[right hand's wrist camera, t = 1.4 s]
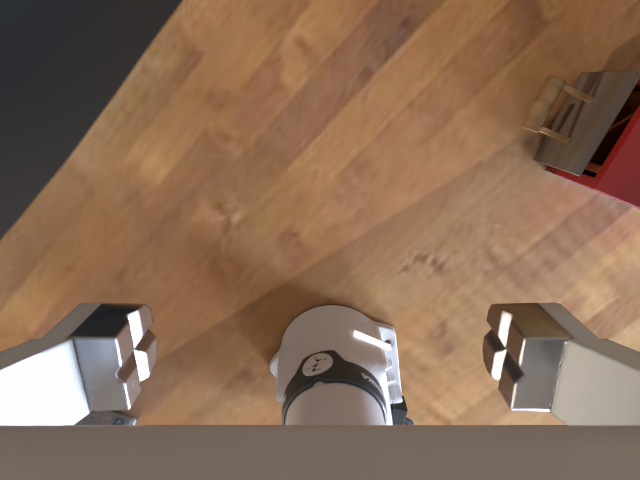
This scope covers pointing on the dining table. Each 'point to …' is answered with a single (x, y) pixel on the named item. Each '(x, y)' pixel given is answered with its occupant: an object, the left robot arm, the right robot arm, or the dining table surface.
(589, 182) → the cabinet
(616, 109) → the drawer
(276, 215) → the dining table surface
